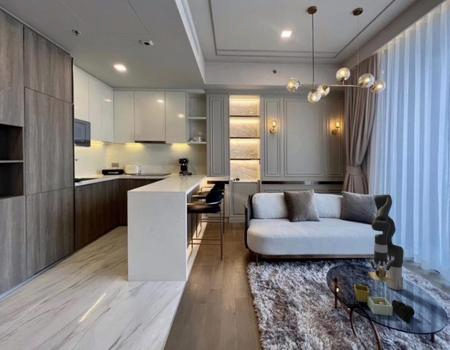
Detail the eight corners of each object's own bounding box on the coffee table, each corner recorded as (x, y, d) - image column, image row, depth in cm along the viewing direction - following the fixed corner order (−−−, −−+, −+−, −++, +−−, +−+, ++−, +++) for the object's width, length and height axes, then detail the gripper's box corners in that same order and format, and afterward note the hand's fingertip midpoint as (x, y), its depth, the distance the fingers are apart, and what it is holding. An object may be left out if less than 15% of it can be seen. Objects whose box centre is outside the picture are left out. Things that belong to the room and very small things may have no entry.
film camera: (420, 323, 152) (421, 309, 152) (404, 323, 152) (404, 308, 152) (404, 309, 167) (404, 296, 167) (389, 309, 167) (389, 296, 167)
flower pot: (355, 302, 176) (355, 289, 176) (353, 296, 184) (354, 284, 184) (369, 304, 173) (369, 291, 173) (367, 298, 181) (367, 286, 181)
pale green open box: (385, 306, 171) (385, 297, 171) (392, 315, 160) (392, 306, 160) (367, 304, 173) (367, 296, 173) (373, 313, 162) (373, 304, 162)
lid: (386, 276, 172) (386, 265, 171) (394, 283, 160) (394, 272, 160) (368, 274, 174) (368, 264, 174) (374, 282, 162) (374, 271, 162)
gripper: (389, 249, 169) (389, 274, 169) (367, 248, 172) (367, 272, 172) (395, 252, 162) (394, 279, 162) (371, 251, 164) (371, 277, 165)
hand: (380, 275), depth 167 cm, fingers closed on lid, 3 cm apart
